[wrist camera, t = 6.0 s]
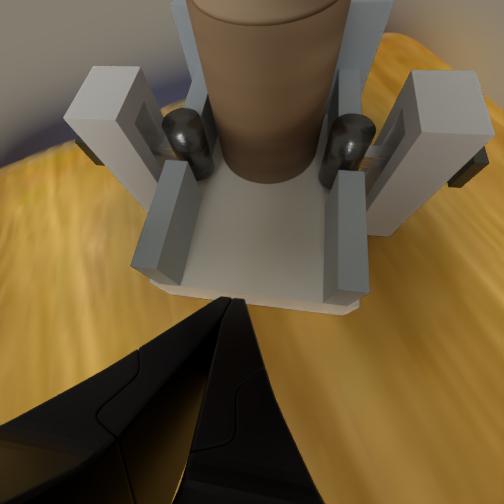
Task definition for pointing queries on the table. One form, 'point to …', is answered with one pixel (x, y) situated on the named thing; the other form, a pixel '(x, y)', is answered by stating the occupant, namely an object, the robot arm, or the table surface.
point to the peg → (268, 79)
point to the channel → (285, 193)
